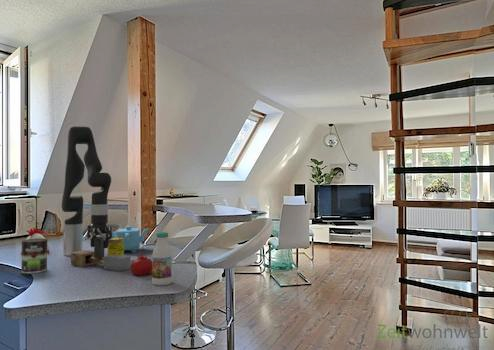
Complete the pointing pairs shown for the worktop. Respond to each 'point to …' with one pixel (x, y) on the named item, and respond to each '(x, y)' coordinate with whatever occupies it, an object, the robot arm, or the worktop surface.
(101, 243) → the rod
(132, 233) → the teakettle
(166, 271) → the milk bottle
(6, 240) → the worktop surface
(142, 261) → the pomegranate
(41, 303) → the worktop surface
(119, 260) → the sleeve
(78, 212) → the robot arm
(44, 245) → the coffee can
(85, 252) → the socket block
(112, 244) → the supplement box
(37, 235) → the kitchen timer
